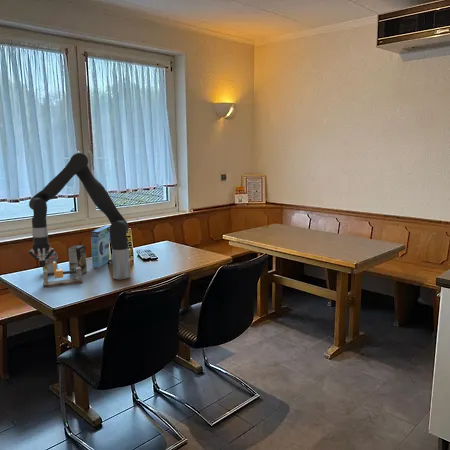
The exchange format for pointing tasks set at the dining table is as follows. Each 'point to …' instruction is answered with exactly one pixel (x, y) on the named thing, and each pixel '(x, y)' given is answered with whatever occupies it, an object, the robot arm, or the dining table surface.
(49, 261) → the beverage can
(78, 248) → the coffee box
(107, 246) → the light blue box
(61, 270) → the sleeve
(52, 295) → the dining table surface
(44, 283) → the cord rig
